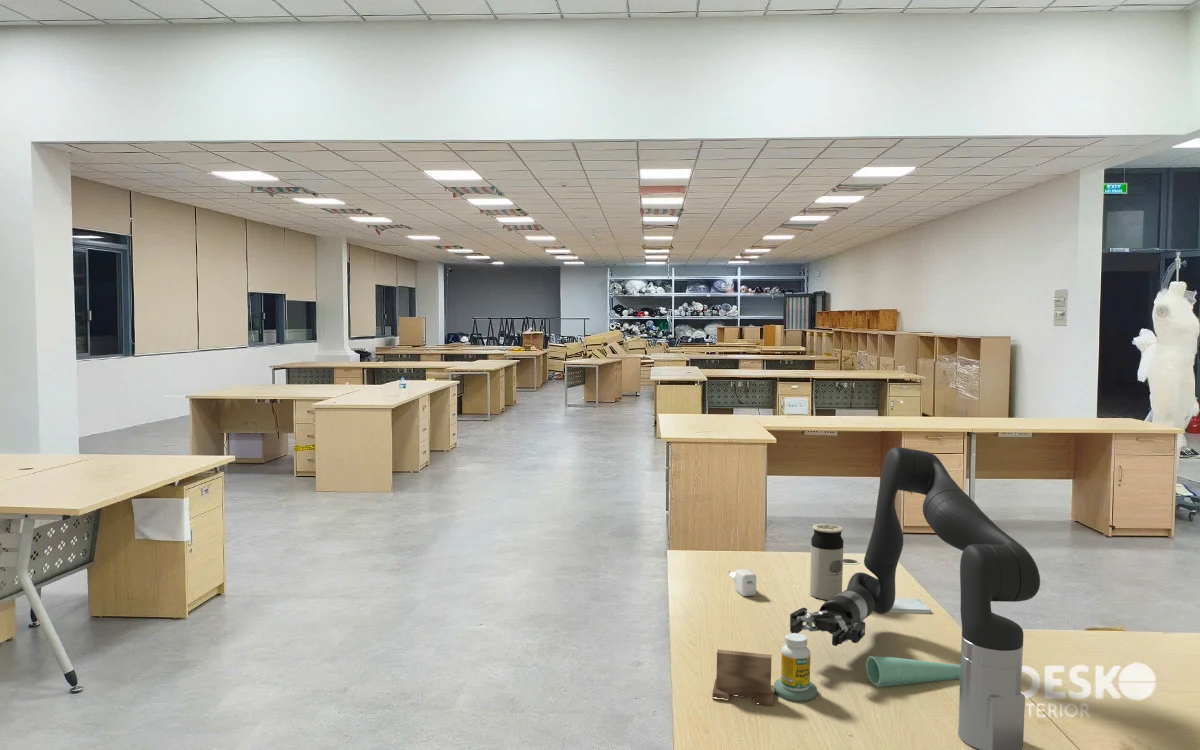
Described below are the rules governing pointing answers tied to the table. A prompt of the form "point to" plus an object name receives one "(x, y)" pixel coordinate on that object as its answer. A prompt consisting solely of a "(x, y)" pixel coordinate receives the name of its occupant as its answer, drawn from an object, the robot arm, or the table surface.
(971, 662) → the robot arm
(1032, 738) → the table surface
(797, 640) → the supplement bottle
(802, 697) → the pad
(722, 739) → the table surface
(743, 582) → the power adapter
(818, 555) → the travel mug
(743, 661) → the divider
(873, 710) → the table surface
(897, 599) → the hard drive
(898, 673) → the long green cone
